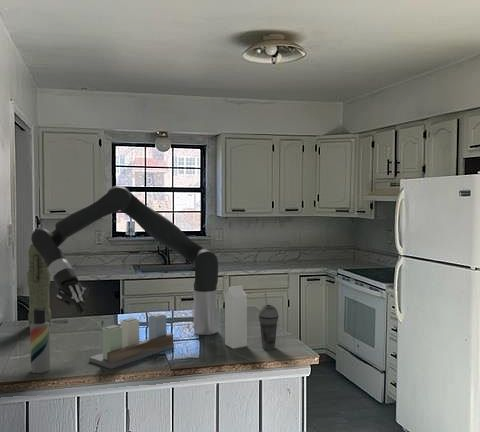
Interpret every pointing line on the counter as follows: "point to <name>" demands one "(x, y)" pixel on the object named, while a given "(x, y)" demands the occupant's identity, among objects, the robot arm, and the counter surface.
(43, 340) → the lotion bottle
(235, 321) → the milk
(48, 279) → the thermos
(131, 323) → the key cream
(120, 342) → the key sage
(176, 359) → the counter surface
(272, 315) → the beverage cup
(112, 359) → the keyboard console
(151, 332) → the key slate
